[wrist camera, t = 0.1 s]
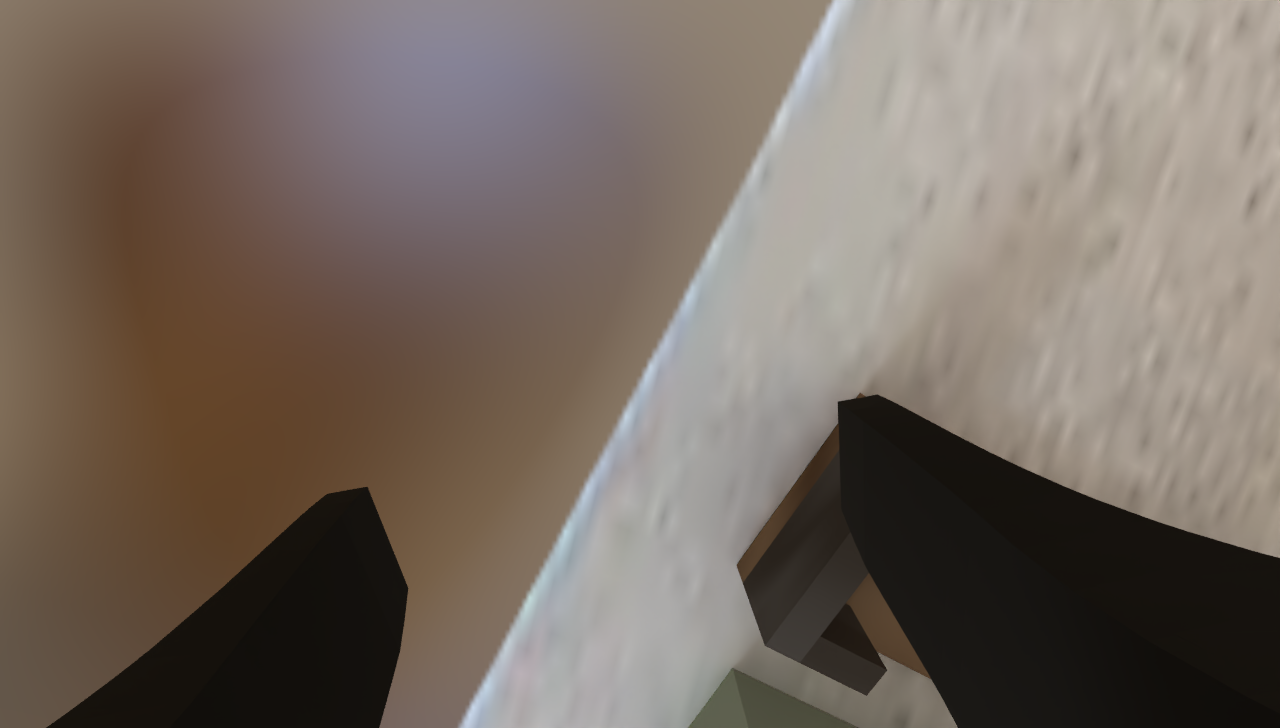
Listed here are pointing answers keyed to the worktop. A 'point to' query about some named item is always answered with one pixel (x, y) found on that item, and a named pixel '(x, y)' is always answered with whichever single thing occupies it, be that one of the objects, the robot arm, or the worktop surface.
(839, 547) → the end cap cradle
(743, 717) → the stone
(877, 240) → the worktop surface
